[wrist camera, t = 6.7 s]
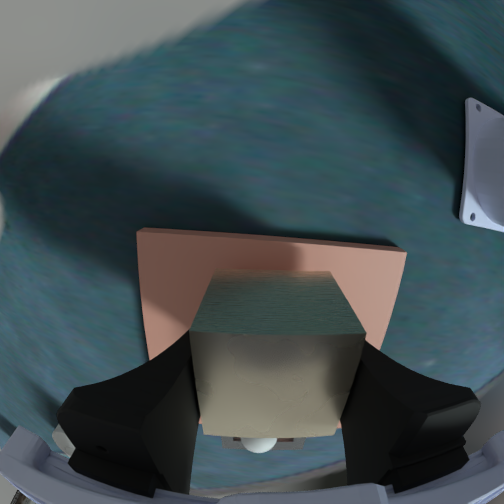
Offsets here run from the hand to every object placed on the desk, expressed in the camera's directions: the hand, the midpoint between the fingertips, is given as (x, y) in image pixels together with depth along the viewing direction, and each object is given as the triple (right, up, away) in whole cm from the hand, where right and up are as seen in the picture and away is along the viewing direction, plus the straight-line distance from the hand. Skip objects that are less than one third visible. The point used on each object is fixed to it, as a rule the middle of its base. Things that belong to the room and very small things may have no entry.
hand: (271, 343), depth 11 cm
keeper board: (0, -2, +5) cm, 5 cm away
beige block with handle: (0, -3, +2) cm, 4 cm away
